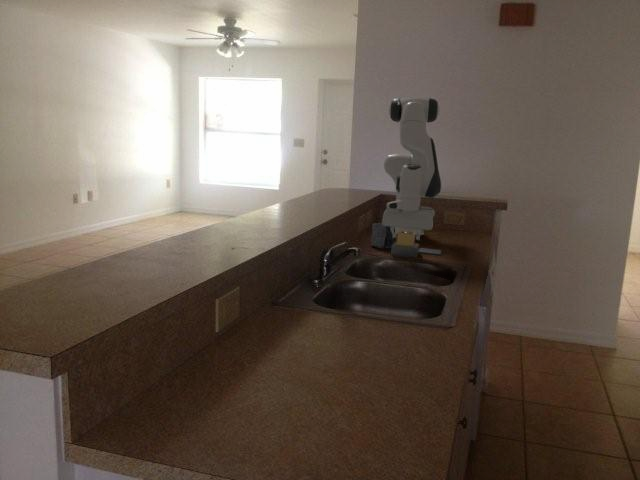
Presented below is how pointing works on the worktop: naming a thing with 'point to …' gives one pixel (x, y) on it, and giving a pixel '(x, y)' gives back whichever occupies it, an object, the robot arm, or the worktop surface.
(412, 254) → the post block
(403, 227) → the robot arm
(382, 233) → the stone
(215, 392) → the worktop surface
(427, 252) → the mat
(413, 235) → the ring
